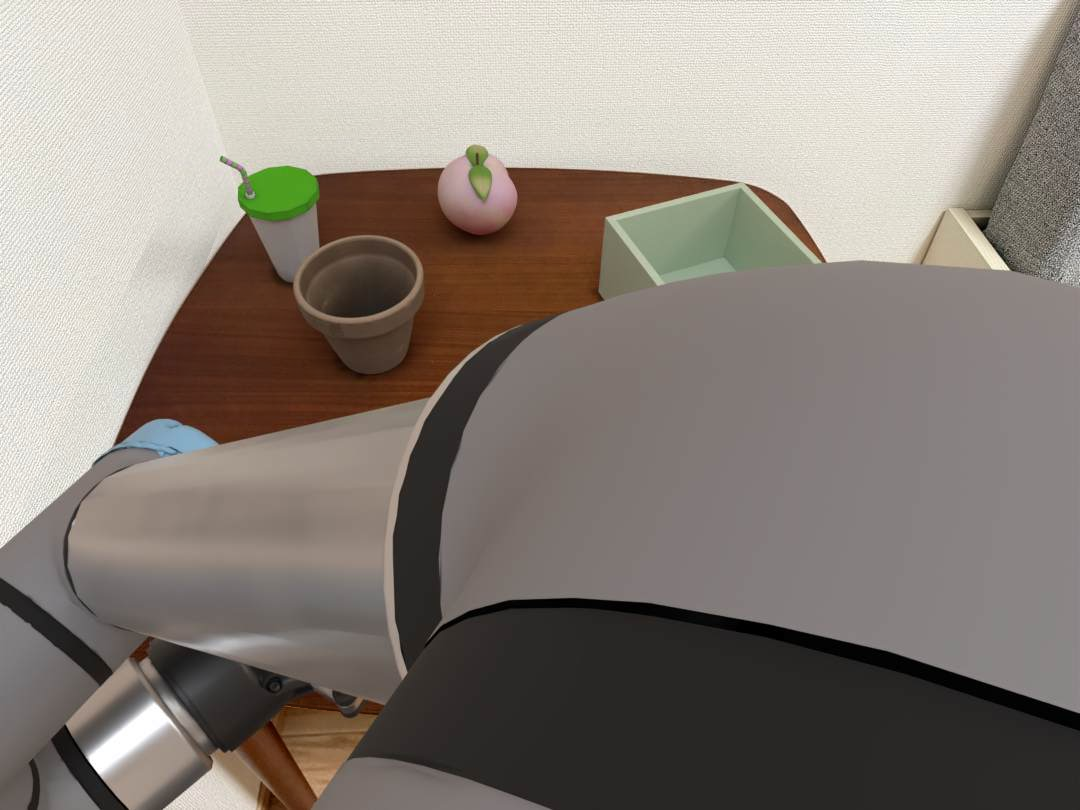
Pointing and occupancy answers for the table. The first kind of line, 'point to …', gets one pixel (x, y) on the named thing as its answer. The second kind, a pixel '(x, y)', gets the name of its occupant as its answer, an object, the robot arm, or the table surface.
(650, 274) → the bin
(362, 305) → the flower pot
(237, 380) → the table surface
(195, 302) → the table surface
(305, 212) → the cup
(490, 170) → the decorative fruit
